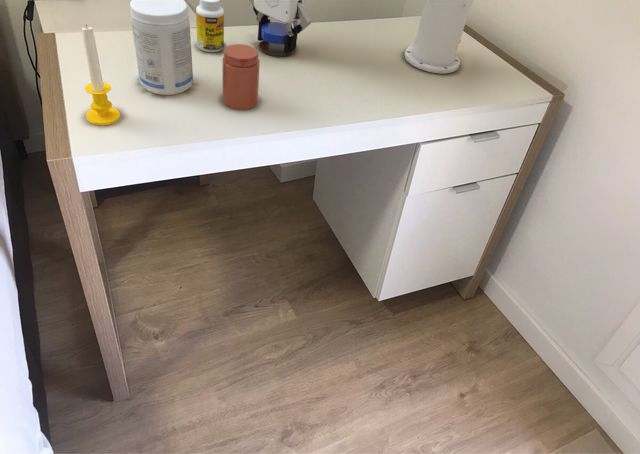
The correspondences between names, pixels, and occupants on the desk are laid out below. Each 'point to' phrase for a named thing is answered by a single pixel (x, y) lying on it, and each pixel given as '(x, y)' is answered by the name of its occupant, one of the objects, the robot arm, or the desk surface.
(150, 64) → the supplement tub
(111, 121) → the candle
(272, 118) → the desk surface
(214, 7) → the supplement bottle
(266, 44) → the coaster
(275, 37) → the jar lid
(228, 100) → the jar
